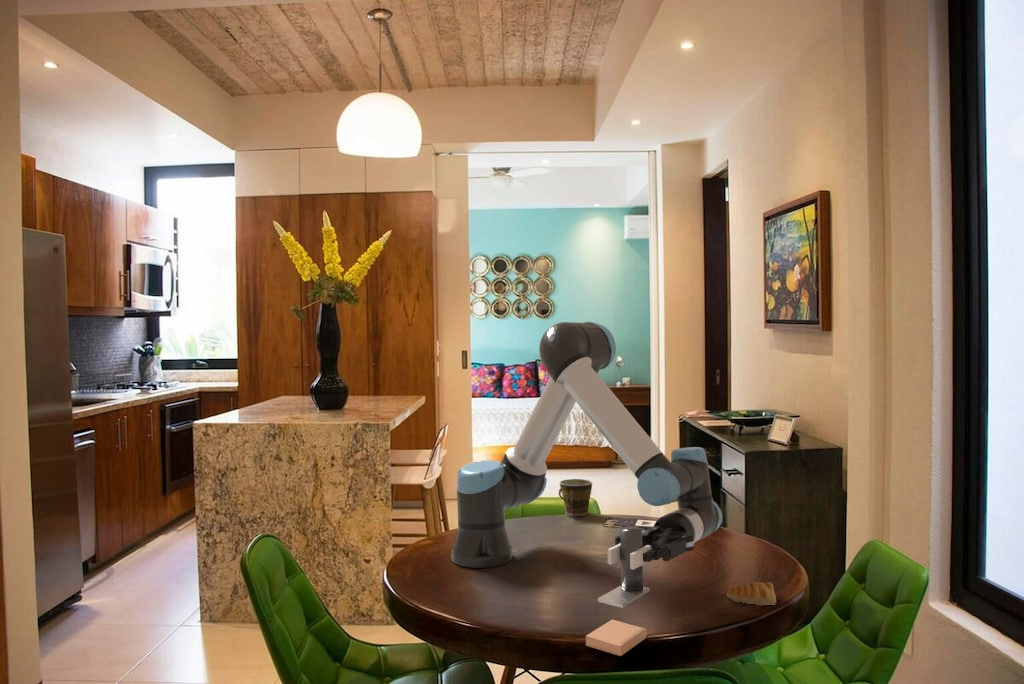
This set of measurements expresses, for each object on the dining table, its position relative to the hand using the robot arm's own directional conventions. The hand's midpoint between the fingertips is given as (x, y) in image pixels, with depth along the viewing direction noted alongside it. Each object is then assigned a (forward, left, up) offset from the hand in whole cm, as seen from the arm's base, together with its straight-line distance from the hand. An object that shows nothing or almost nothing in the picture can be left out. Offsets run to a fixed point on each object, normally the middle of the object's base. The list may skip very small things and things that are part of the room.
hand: (620, 559), depth 127 cm
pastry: (+13, +32, -15) cm, 37 cm away
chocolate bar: (-35, +69, -15) cm, 79 cm away
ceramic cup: (-56, +67, -14) cm, 89 cm away
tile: (0, +2, -13) cm, 14 cm away
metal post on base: (0, +1, -7) cm, 7 cm away
